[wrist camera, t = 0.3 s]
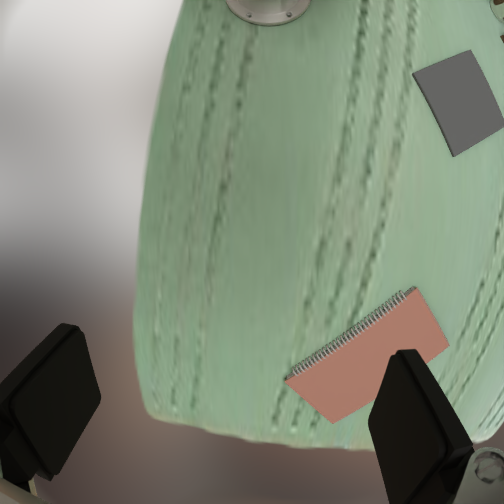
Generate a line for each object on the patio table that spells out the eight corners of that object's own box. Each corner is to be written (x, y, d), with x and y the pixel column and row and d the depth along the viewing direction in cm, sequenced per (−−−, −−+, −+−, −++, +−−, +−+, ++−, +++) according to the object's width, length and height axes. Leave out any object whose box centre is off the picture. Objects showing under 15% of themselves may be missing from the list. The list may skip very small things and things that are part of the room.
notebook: (410, 278, 47) (415, 283, 45) (446, 340, 50) (450, 346, 48) (280, 372, 53) (280, 379, 51) (331, 417, 56) (332, 424, 54)
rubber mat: (411, 74, 37) (413, 73, 36) (468, 50, 34) (470, 49, 33) (452, 156, 40) (454, 156, 39) (504, 125, 37) (506, 125, 37)
